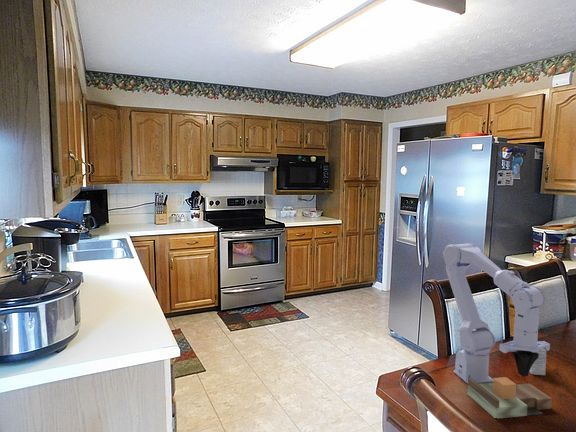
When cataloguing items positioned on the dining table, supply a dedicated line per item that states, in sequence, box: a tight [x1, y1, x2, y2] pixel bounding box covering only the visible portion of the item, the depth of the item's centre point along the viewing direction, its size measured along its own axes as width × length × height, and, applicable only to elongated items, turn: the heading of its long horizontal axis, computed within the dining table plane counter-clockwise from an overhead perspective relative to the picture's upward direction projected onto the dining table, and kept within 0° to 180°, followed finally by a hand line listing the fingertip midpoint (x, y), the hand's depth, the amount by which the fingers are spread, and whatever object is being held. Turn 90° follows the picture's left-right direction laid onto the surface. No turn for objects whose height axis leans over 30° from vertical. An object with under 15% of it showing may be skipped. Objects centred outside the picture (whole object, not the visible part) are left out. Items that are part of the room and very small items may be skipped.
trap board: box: [467, 378, 553, 419], centre depth 107 cm, size 19×12×5 cm, turn 99°
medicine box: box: [529, 350, 547, 376], centre depth 127 cm, size 8×4×9 cm, turn 169°
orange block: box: [492, 376, 517, 399], centre depth 106 cm, size 4×4×4 cm
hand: (522, 374), depth 108 cm, fingers closed
